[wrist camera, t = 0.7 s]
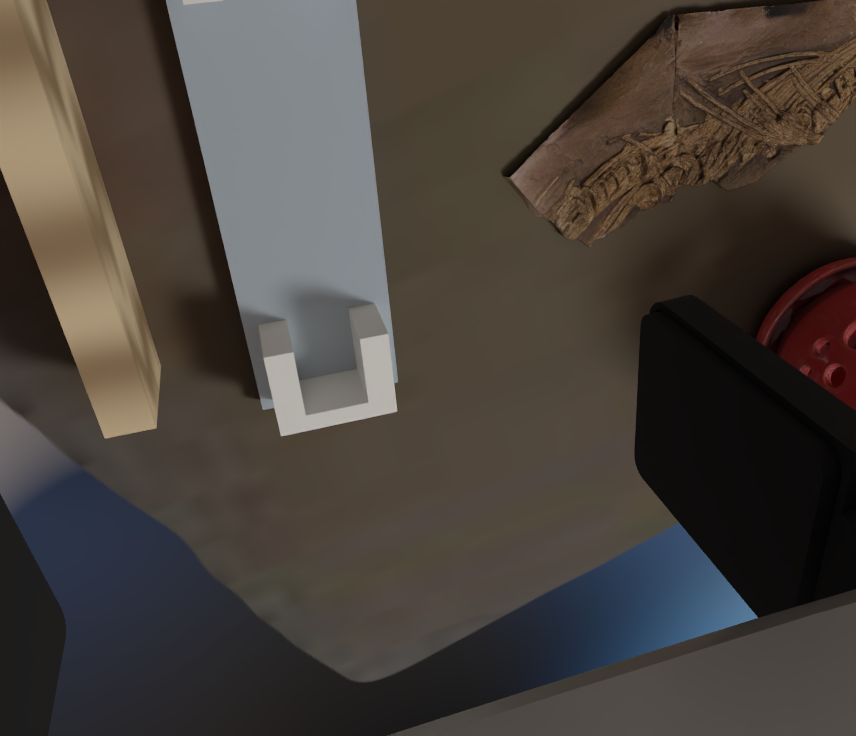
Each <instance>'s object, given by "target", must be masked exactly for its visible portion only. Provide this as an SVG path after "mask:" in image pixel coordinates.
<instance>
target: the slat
mask: <svg viewBox="0 0 856 736" xmlns="http://www.w3.org/2000/svg"><path fill="white" fill-rule="evenodd" d="M0 168H1V171H2V173H3V176H4V179H5V181H6V184H7V186H8V189H9V192H10V194H11V197H12V199H13V202H14V204H15V207H16V210H17V212H18V215H19V217H20V220H21V223H22V225H23V228H24V230H25V233H26V236H27V238H28V241H29V243H30V246H31V248H32V251H33V254H34V256H35V259H36V261H37V264H38V267H39V269H40V272H41V274H42V277H43V280H44V282H45V285H46V287H47V290H48V292H49V295H50V298H51V300H52V303H53V305H54V308H55V311H56V313H57V316H58V318H59V321H60V323H61V326H62V329H63V331H64V334H65V336H66V339H67V342H68V344H69V347H70V349H71V352H72V355H73V357H74V360H75V362H76V365H77V367H78V370H79V373H80V375H81V378H82V380H83V383H84V386H85V388H86V391H87V393H88V396H89V399H90V401H91V404H92V406H93V409H94V411H95V414H96V417H97V419H98V422H99V424H100V427H101V430H102V432H103V435H104V437H105V438H110V437H115V436H120V435H125V434H130V433H135V432H140V431H145V430H150V429H155V428H156V427H157V413H158V399H159V386H160V372H161V365H160V362H159V359H158V356H157V352H156V349H155V346H154V343H153V340H152V336H151V333H150V330H149V327H148V324H147V320H146V317H145V314H144V311H143V308H142V304H141V301H140V298H139V295H138V292H137V289H136V285H135V282H134V279H133V276H132V273H131V269H130V266H129V263H128V260H127V257H126V253H125V250H124V247H123V244H122V241H121V237H120V234H119V231H118V228H117V225H116V221H115V218H114V215H113V212H112V209H111V205H110V202H109V199H108V196H107V193H106V189H105V186H104V183H103V180H102V177H101V173H100V170H99V167H98V164H97V161H96V157H95V154H94V151H93V148H92V145H91V141H90V138H89V135H88V132H87V129H86V125H85V122H84V119H83V116H82V113H81V110H80V106H79V103H78V100H77V97H76V94H75V90H74V87H73V84H72V81H71V78H70V74H69V71H68V68H67V65H66V62H65V58H64V55H63V52H62V49H61V46H60V42H59V39H58V36H57V33H56V30H55V26H54V23H53V20H52V17H51V14H50V10H49V7H48V4H47V1H46V0H0Z"/></svg>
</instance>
